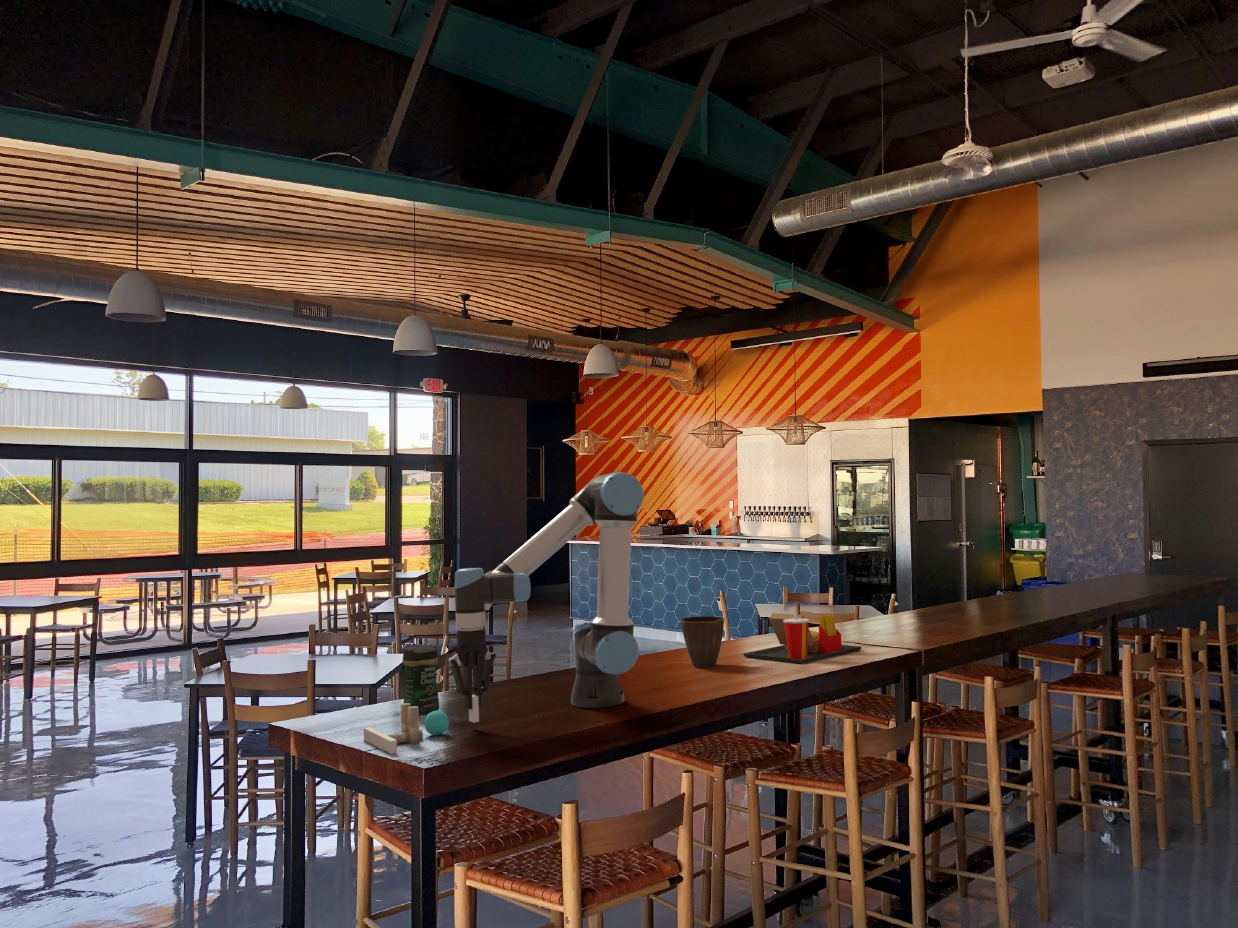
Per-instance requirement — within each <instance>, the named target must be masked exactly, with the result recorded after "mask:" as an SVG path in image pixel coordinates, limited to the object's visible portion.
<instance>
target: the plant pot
mask: <svg viewBox="0 0 1238 928" xmlns="http://www.w3.org/2000/svg"><path fill="white" fill-rule="evenodd" d="M680 624H681V625H680V626H681V630H682V635H683V639H684V643H685V646H686V650H687V652H688V655H689V657H690V660H691V663H692V666H693V667H694V668H698V669H699V668H700V669H707V668H713V667H716V665H717V661H718V659H719V655H720V650H721V647H722V640H723V635H724V625H725V617H723V616H722V617H721V616H713V615H709V616H707V615H705V616H703V615H701V616H690V617H683V618H681V619H680Z"/></svg>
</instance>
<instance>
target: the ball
mask: <svg viewBox="0 0 1238 928" xmlns="http://www.w3.org/2000/svg"><path fill="white" fill-rule="evenodd" d="M423 724H424V725H423V726H424V729H425V731H426V732H427V733H428V734H429V735H432V736H441V735H443V734H444V733H446V731H447V730H448V728H449V725H450V721H449V717H448V715H447V714H446V713H445V712H444V711H441V710H438V711H433V712H431V713H428V714H426V717H425V719H424V722H423Z"/></svg>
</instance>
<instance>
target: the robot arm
mask: <svg viewBox="0 0 1238 928" xmlns="http://www.w3.org/2000/svg"><path fill="white" fill-rule="evenodd" d="M643 501H644V489H643V487H642V484H641V483H640V481H639V480H638V478H636V477H635V476H634V475H633V474H630V473H627V472H621V471H616V472H610V473H605V474H604V473H603V474H600V475H598V476H596V477H594V478H592V479H591V480H590V481H589V482H588V483H587V484H586V485H584V486H583V488H582V489H580V490H579V492H577V493H576V494H575V495H574V496H573V497H571V499H569V503H568V504H569V505H568V506H567V507H565V508H564V509H563V510H562V511H561V512H560V513H559V514H557V515H555V517H554V518H553V519H551V520H550V521H549V522H548V523H547V524H546V525H545V526H544V527H542V528H541V529H540V530H539V531H537V532H536V533H535V534H534V535H533V536H531V537H530V539H528V540H527V541H526V542H525V543H524V544H523V545H521V546H519V548H518V549H516V550H515V551H514V552H513V553H512V554H511V555H509V557H507V558H506V559H505V560H503V562H501V563H500V564H499V565H498V566H496V568H494V569H493V570H489V571H487V572H486V573H485V572H484V569H483V568H482V567H467V568H459V569H457V570H456V571H455V573H454V601H455V627H456V628H457V630H456V631H455V633H456V636H455V637H456V650H455V654H454V655H453V656H452V657H449V658H447V663H448V665H450V668H451V671H452V675H453V680H454V682H455V686H456V691H457V694H458V695H462V696H464V697H465V698H464V699H465V709H466V710H468V722H471V723H474V724H475V723H479V722H480V712H479V711H480V708H482V696H483V695H484V693H485V692H488V691H489V686H490V682H491V681H490V680H491V675H492V670H493V669H492V668H493V664H494V661H495V659H496V656H497V654H496V653H493V652H491V651H489V649H488V646H487V645H486V644H487V632H486V631H487V630H486V629H485V627H486V605H492V604H506V603H519V602H521V603H522V602H526V601H528V600H529V599H530V597H531V591H532V589H531V581H530V577H529V576H530V575H531V574H532V573H534V572H535V571H536V570H537V569H538V568H539V567H540V566H541V565H543V564H544V563H545V562H546V561H547V560H548V559H550V558H551V557H552V556H553V555H554V554H555V553H557V552H558V551H559V550H560V549H561V548H563V546H565V544H567V543H568V542H569V541H571V539H573V538H574V537H575V536H576V535H578V534H579V532H580V531H582V530H583V529H584V528H586V527H587V526H590V527H591V526H594V525H595V524H597V525H598V526H599V541H598V542H599V545H598V546H599V547H598V551H599V553H598V572H597V573H598V575H597V577H598V578H597V603H596V605H597V606H596V616H595V617H594V618H593V619H592V620H591V621H585V622H578V623H576V624H575V626H574V632H573V637H574V652H575V653H574V655H575V673H576V674H575V680H574V684H573V688H572V692H571V694H570V704H571V705H572V706H573V707H577V708H582V707H583V708H584V709H599V708H600V709H601V708H610V707H615V706H619V705H622V704H624V703H625V693H624V690H623V686H622V684H621V681H620V679H619V676H618V675H620V674H625V673H627V672H628V671H629V670H631V668H633V667H634V666H635V664H636V662H637V660H638V657H639V652H640V650H639V645H638V642H637V640H636V638H635V637H634V631H635V630H634V627H635V626H634V625H635V623H634V622H633V620H632V619H631V618H630V617H629V606H630V604H629V603H630V581H631V580H630V577H631V576H630V574H631V571H630V570H631V551H632V550H631V546H632V545H631V544H632V528H633V527H634V526H635V525H637V523H638V511H639V509H640V507H642V504H643ZM483 660H484V661H483ZM482 662H484V663H482ZM459 663H461V664H462V668H463V675H462V671H461V667H460V665H459ZM482 664H483V665H482Z"/></svg>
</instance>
